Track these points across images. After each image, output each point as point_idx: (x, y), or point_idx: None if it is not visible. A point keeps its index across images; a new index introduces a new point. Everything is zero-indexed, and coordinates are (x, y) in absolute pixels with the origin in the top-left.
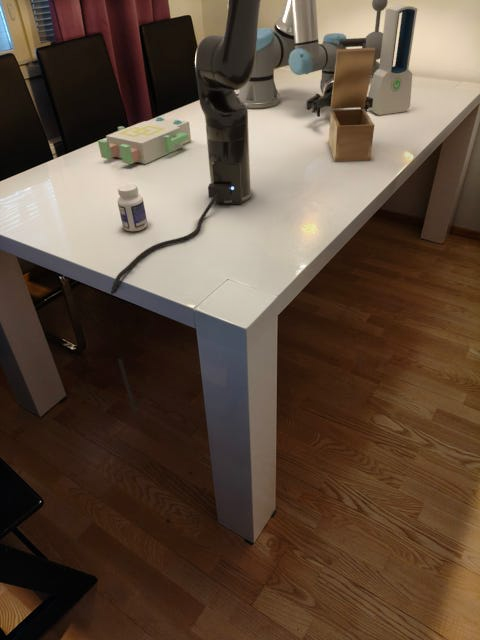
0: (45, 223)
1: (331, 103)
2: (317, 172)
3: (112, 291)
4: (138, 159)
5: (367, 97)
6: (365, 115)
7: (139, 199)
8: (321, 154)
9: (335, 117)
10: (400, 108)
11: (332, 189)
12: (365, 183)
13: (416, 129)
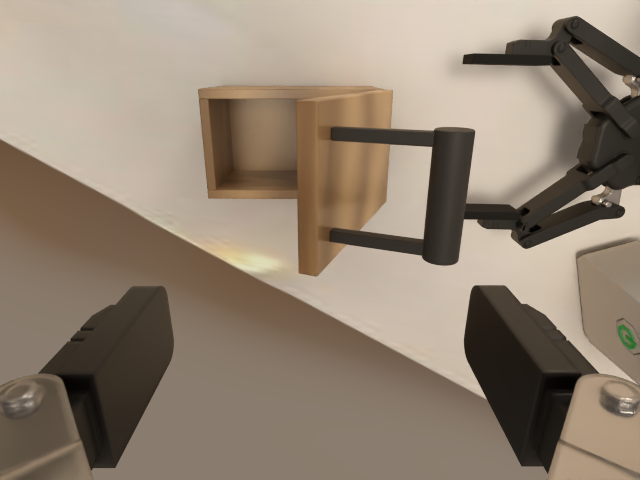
0: None
1: (374, 90)
2: (144, 28)
3: None
4: None
5: (522, 231)
6: None
7: None
8: (278, 54)
9: (295, 95)
10: (587, 319)
11: (37, 56)
12: (83, 140)
13: (435, 319)
